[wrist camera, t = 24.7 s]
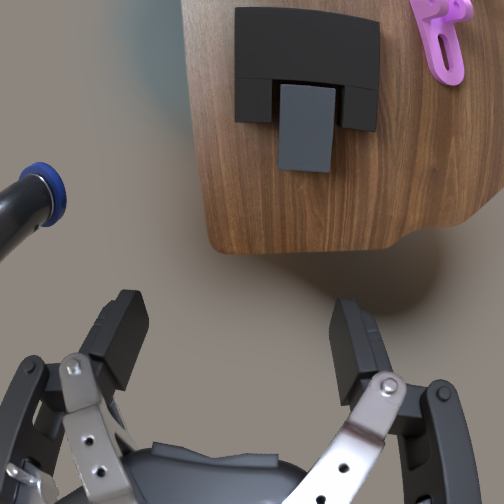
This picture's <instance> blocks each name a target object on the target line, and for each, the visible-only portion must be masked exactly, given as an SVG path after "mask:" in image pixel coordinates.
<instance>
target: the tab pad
mask: <svg viewBox="0 0 504 504" xmlns="http://www.w3.org/2000/svg"><path fill="white" fill-rule="evenodd" d="M335 92H336V89H333V88H324V87H314V86H302V85H287V84H281V85H280V96H279V136H278V170H294V171H311V172H326V173H329V172H330V163H331V152H332V140H333V127H334V111H335Z"/></svg>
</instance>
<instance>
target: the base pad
mask: <svg viewBox="0 0 504 504" xmlns="http://www.w3.org/2000/svg"><path fill="white" fill-rule="evenodd" d="M379 66H380V26H379V22H377V21H373V20H369V19H365V18H360V17H355V16H350V15H344V14H338V13H332V12H325V11H317V10H308V9H296V8H279V7H237V8H235V122H269V123H271V121H272V81H293V82H307V83H318V84H327V85H336V86H339V100H338V117H337V125H339V126H341V127H343V128H349V129H357V130H364V131H371V132H375V130H376V119H377V107H378V90H379Z"/></svg>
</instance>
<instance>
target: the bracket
mask: <svg viewBox="0 0 504 504" xmlns="http://www.w3.org/2000/svg"><path fill="white" fill-rule="evenodd" d="M409 1H410V4H411V7H412V9H413V12H414V15H415V18H416V21H417V25H418V28H419V31H420V35H421V38H422V42H423V46H424V50H425V54H426V58H427V62H428V66H429V69H430V72H431V73H432V75H433V76H434V78H435V79H436V80H437V81H439V82H440V83H442V84H445V85H457V84H459V83H460V82H461V81H462V80H463V77H464V65H463V60H462V55H461V51H460V47H459V43H458V39H457V35H456V32H455V28H454V24H455V23H458V22H463V21H469V20H471V19H472V17H473V14H474V11H473V6H472V4H471V2H470V0H409ZM438 35H439V36H440V37H441V38H442V40H443V43H444V47H445V51H446V55H447V60H448V64H449V70H448V71H447V70H446V69H445V67H444V62H443V58H442V53H441V49H440V45H439V42H438Z"/></svg>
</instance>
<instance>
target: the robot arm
mask: <svg viewBox="0 0 504 504" xmlns="http://www.w3.org/2000/svg"><path fill="white" fill-rule="evenodd" d="M54 211H55V197H54V193H53V190H52V188H51V186H50V184H49V183H48V181H47V180H46V179H45V178H44V177H43V176H42V175H40V174H38V173H30V174H28V175H26V176H25V177H23V178H22V179H20V180H19V181H17V182H15V183H13V184H12V185H10V186H8V187H7V188H5V189H4V190H2V191H1V192H0V263H1V262H2V261H3V260H4V259H5V258H6V257H7V256H8V255H9V254H10V253H11V252H12V251H13V250H14V249H15V248H16V247H17V246H18V245H19V244H21V243H22V242H23V241H24V240H25V239H26V238H27V237H28V236H30V235H31V234H32V233H33V232H35V230H36V229H39V227H40V226H41V225H42V224H43V223H45V222H47V221H48V220H49V219H50V218H51V217H52V216H53V214H54ZM148 328H149V317H148V314H147V311H146V307H145V304H144V301H143V298H142V295H141V292H140V291H137V290H121V292H120V293H119V295H118V297H117V298H116V300H115V301H113V300H111V301H110V302H109V303H108V304H107V305H106V306H105V307H103V309H102V310H101V312H100V314H99V316H98V319H96V321H95V323H94V326H92V328H91V330H90V331H89V333H88V335H87V337H86V339H85V341H84V343H83V344H82V346H81V348H80V350H79V352H78V353H73V354H70V355H68V356H66V357H65V358H64V359H63V360H62V362H61V363H54V364H45V363H44V361H43V360H42V359H41V358H40V357H39V356H36V355H31V356H28V357H26V358H25V359H24V360H23V361H22V362H21V363H20V365H19V367H18V369H17V371H16V373H15V375H14V377H13V379H12V381H11V383H10V386H9V388H8V390H7V392H6V394H5V396H4V399H3V401H2V403H1V406H0V504H349V503H350V502H351V501H352V499H353V498H354V496H355V495H356V493H357V492H358V490H359V489H360V487H361V486H362V484H363V483H364V481H365V480H366V478H367V476H368V475H369V473H370V472H371V470H372V468H373V466H374V465H375V463H376V461H377V460H378V458H379V456H380V454H381V453H382V451H383V448H384V446H385V442H384V440H385V438H386V435H387V434H393V435H397V439H398V445H399V453H400V460H401V468H402V478H403V490H404V504H482V502H481V493H480V487H479V479H478V473H477V467H476V462H475V457H474V452H473V448H472V443H471V439H470V435H469V431H468V427H467V423H466V420H465V416H464V413H463V409H462V407H461V403H460V400H459V396H458V393H457V391H456V389H455V387H454V386H453V385H452V384H451V383H450V382H448V381H446V380H441V379H440V380H435V381H433V382H432V383H431V384H430V385H429V386H428V387H422V386H416V385H410V384H407V383H405V381H404V380H403V378H402V377H401V376H399V375H398V374H396V373H394V372H393V370H392V367H391V364H390V361H389V357H388V354H387V351H386V349H385V346H384V343H383V340H382V337H381V334H380V332H379V329H378V326H377V323H376V320H375V319H374V318H373V317H372V315H371V314H370V313H369V312H368V311H360V308H359V305H358V303H357V300H356V299H355V298H345V299H344V298H342V299H337V300H336V303H335V307H334V311H333V315H332V318H331V322H330V326H329V340H330V345H331V350H332V356H333V361H334V367H335V372H336V378H337V384H338V390H339V397H340V402H341V406H345V405H350V411H351V413H350V414H349V416H348V418H347V419H346V421H345V422H344V424H343V425H342V427H341V428H340V430H339V431H338V432H337V434H336V435H335V437H334V438H333V440H332V441H331V442H330V444H329V445H328V447H327V448H326V449H325V451H324V452H323V453H322V455H321V456H320V457H319V459H318V460H317V461H316V462H315V464H314V465H313V466H312V468H311V469H310V470H309V471H308V473H307V472H306V471H305V470H303V469H301V468H299V467H298V466H296V465H293V464H291V463H288V462H285V461H281V460H278V454H249V453H246V454H240V455H234V456H227V457H219V458H210V457H207V456H205V455H202V454H199V453H197V452H194V451H191V450H189V449H186V448H184V447H180V446H174V445H168V444H162V443H158V442H153V445H152V448H146V449H141V450H139V448H138V446H137V444H136V443H135V441H134V440H133V438H132V437H131V435H130V433H129V431H128V429H127V427H126V425H125V422H124V420H123V417H122V415H121V413H120V410H119V408H118V405H117V402H116V400H115V397H114V396H113V395H114V392H115V390H116V389H117V390H122V391H125V390H126V387H127V384H128V381H129V379H130V376H131V373H132V370H133V368H134V365H135V362H136V360H137V357H138V354H139V351H140V349H141V347H142V344H143V341H144V339H145V336H146V334H147V331H148ZM39 400H41V402H42V405H41V407H40V410H39V413H38V415H37V418H36V421H35V423H34V426H33V423H32V419H33V416H34V413H35V410H36V408H37V405H38V403H39ZM65 432H66V436H67V440H68V443H69V446H70V450H71V453H72V456H73V459H74V462H75V465H76V468H77V471H78V474H79V476H80V479H81V482H82V484H83V485H82V486H81V487H79V488H78V489H76V490H75V491H73V492H71V493H70V494H68V495H67V496H65V497H63V498H62V499H60V500H58V501H57V498H56V497H57V496H58V495H59V490H58V488H57V487H56V485H55V482H54V480H53V474H54V470H55V465H56V462H57V458H58V454H59V450H60V447H61V443H62V440H63V436H64V433H65Z"/></svg>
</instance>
